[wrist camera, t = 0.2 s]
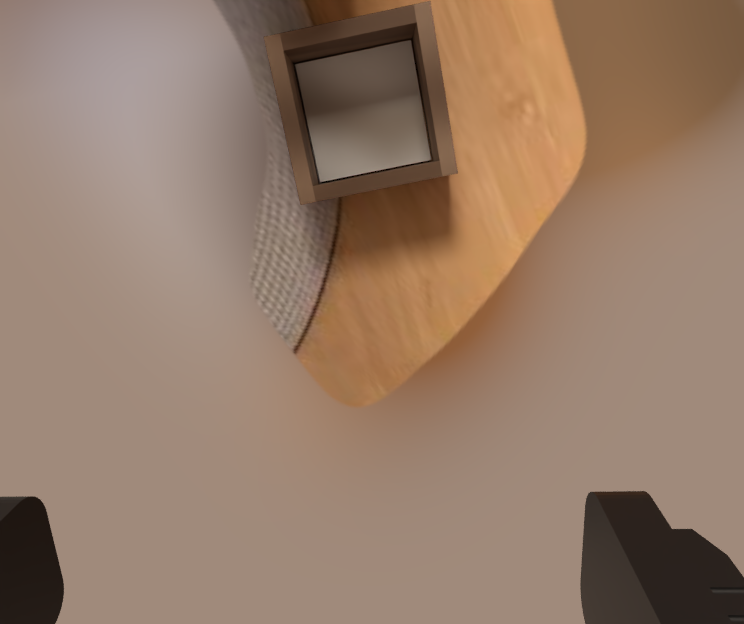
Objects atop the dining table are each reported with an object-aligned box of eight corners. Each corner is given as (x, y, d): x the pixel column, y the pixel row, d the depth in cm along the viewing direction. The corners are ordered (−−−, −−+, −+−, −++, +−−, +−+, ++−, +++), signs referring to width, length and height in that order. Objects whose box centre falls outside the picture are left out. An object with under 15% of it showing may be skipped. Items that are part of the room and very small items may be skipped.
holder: (276, 51, 34) (263, 36, 30) (423, 20, 33) (430, 1, 29) (308, 200, 35) (300, 204, 32) (448, 172, 35) (457, 173, 31)
